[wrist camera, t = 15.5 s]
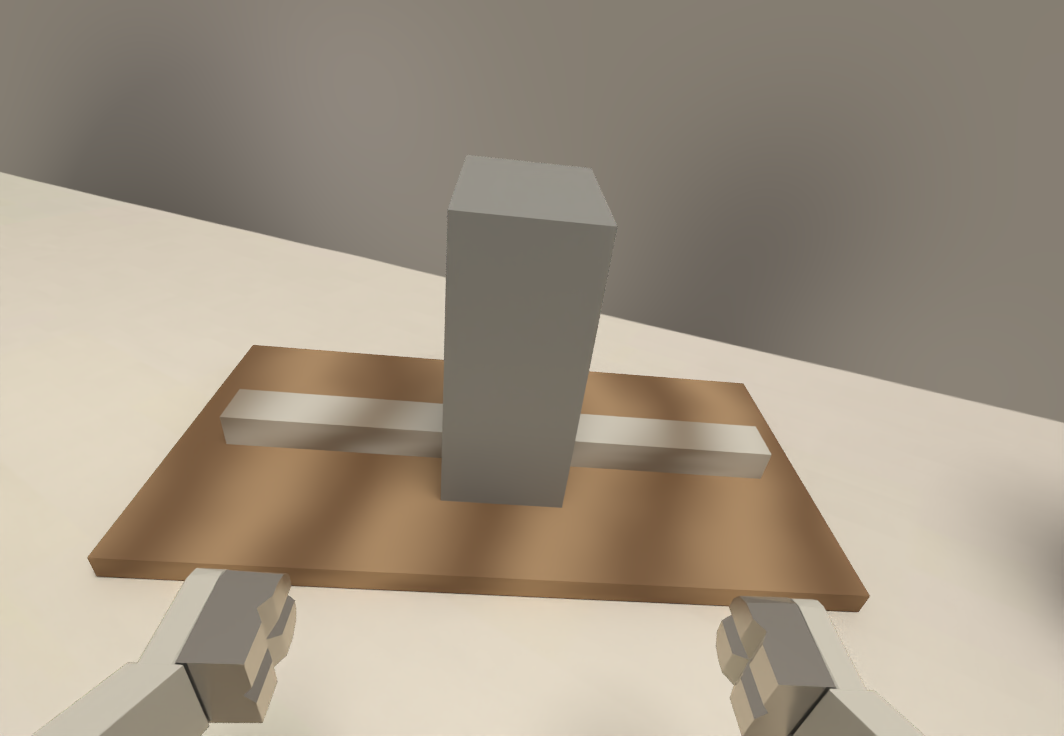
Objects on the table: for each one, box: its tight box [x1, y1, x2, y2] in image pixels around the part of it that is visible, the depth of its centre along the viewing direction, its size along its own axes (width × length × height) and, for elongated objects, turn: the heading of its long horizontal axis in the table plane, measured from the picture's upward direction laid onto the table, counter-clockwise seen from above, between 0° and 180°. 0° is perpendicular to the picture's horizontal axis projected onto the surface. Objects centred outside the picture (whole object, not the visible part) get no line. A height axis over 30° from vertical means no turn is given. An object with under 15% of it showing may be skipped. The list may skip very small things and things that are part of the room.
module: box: [441, 155, 617, 508], centre depth 22 cm, size 5×7×12 cm
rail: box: [87, 345, 870, 612], centre depth 25 cm, size 28×14×2 cm, turn 91°
